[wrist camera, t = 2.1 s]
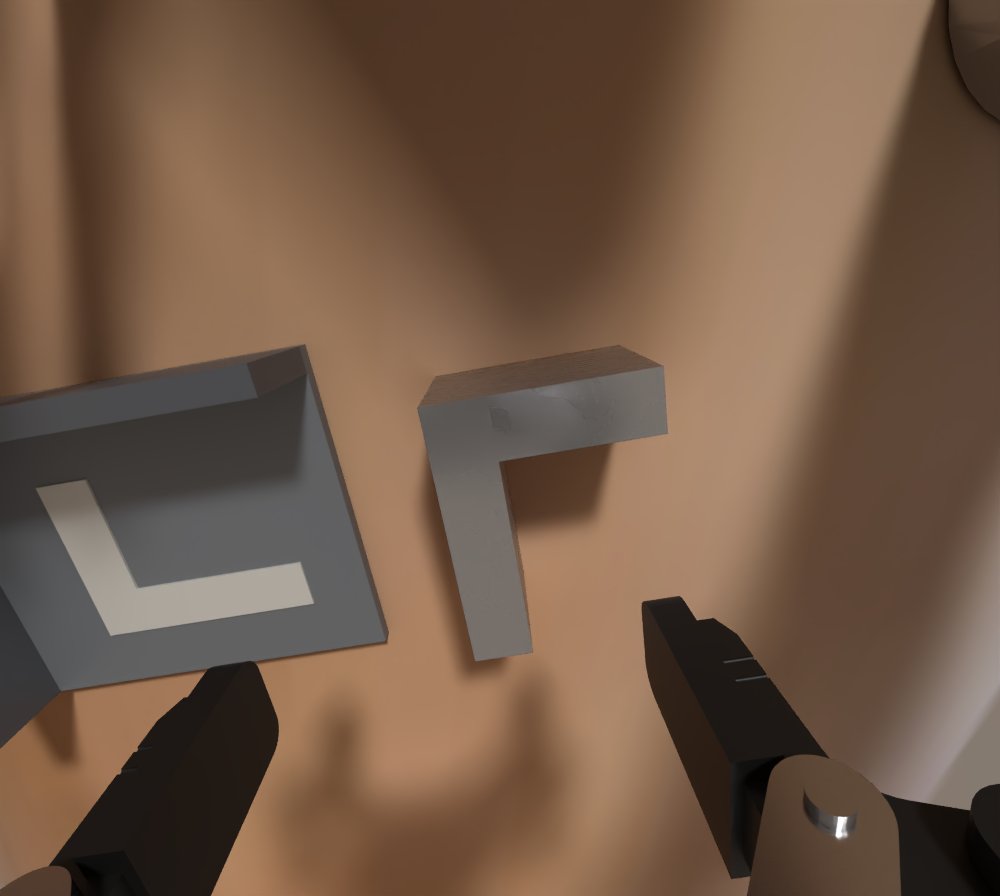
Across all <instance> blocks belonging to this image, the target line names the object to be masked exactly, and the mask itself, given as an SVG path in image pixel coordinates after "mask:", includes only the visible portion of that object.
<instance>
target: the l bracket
mask: <svg viewBox="0 0 1000 896" xmlns="http://www.w3.org/2000/svg"><path fill="white" fill-rule="evenodd" d="M417 409H418V413H419V418H420V422H421V426H422V431H423V435H424V440H425V444H426V448H427V453H428V457H429V461H430V466H431V470H432V475H433V479H434V483H435V488H436V492H437V496H438V501H439V505H440V510H441V514H442V518H443V523H444V527H445V531H446V536H447V540H448V545H449V549H450V553H451V558H452V562H453V566H454V571H455V575H456V580H457V584H458V588H459V593H460V597H461V602H462V606H463V610H464V615H465V619H466V623H467V628H468V632H469V637H470V641H471V645H472V650H473V654H474V658H475V661H481V660H488V659H495V658H501V657H508V656H515V655H521V654H528V653H533V647H532V638H531V630H530V621H529V613H528V604H527V596H526V587H525V579H524V570H523V565H522V559H521V554H520V548H519V542H518V537H517V531H516V525H515V520H514V514H513V508H512V503H511V497H510V491H509V486H508V480H507V474H506V469H505V463H504V461H506V460H512V459H518V458H524V457H530V456H536V455H543V454H549V453H555V452H561V451H567V450H573V449H579V448H585V447H591V446H597V445H603V444H609V443H615V442H621V441H627V440H633V439H639V438H645V437H651V436H657V435H663V434H668V428H667V412H666V396H665V380H664V366H663V365H660V364H658V363H656V362H654V361H652V360H650V359H648V358H646V357H643V356H641V355H639V354H637V353H635V352H633V351H631V350H628V349H626V348H624V347H622V346H620V345H616V346H610V347H605V348H599V349H593V350H587V351H581V352H576V353H570V354H564V355H558V356H552V357H547V358H541V359H535V360H529V361H523V362H518V363H512V364H506V365H500V366H494V367H489V368H483V369H477V370H471V371H465V372H460V373H454V374H448V375H442V376H436V377H435V379H434V380H433V382H432V384H431V386H430V387H429V389H428V391H427V392H426V394H425V396H424V397H423V399H422V401H421V402H420V404H419V406H418V408H417Z"/></svg>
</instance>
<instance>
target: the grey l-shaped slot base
mask: <svg viewBox="0 0 1000 896" xmlns="http://www.w3.org/2000/svg"><path fill="white" fill-rule="evenodd" d="M387 636H388V628H387V625H386V621H385V618H384V614H383V611H382V608H381V604H380V601H379V597H378V594H377V590H376V587H375V584H374V580H373V577H372V573H371V570H370V566H369V563H368V559H367V556H366V553H365V549H364V546H363V542H362V539H361V535H360V532H359V528H358V525H357V522H356V518H355V515H354V511H353V508H352V504H351V501H350V498H349V494H348V491H347V487H346V484H345V480H344V477H343V473H342V470H341V467H340V463H339V460H338V456H337V453H336V449H335V446H334V443H333V439H332V436H331V432H330V429H329V425H328V422H327V418H326V415H325V412H324V408H323V405H322V401H321V398H320V394H319V391H318V388H317V384H316V381H315V377H314V374H313V370H312V367H311V363H310V360H309V357H308V353H307V350H306V346H305V344H304V345H298V346H293V347H287V348H281V349H276V350H270V351H264V352H259V353H253V354H247V355H242V356H236V357H230V358H225V359H219V360H213V361H208V362H202V363H196V364H191V365H185V366H179V367H174V368H168V369H162V370H157V371H151V372H145V373H140V374H134V375H128V376H123V377H117V378H111V379H106V380H100V381H94V382H89V383H83V384H77V385H72V386H66V387H60V388H55V389H49V390H43V391H38V392H32V393H26V394H21V395H15V396H9V397H4V398H0V748H1V747H3V746H4V745H5V744H6V743H7V742H8V741H9V740H10V739H11V738H12V737H13V736H14V735H15V734H16V733H17V732H18V731H19V730H20V729H22V728H23V727H24V726H25V725H26V724H27V723H28V722H29V721H30V720H31V719H32V718H33V717H34V716H35V715H36V714H37V713H38V712H39V711H41V710H42V709H43V708H44V707H45V706H46V705H47V704H48V703H49V702H50V701H51V700H52V699H53V698H54V697H55V696H56V695H57V694H58V693H60V692H61V691H65V690H72V689H78V688H85V687H91V686H98V685H104V684H111V683H117V682H124V681H130V680H137V679H143V678H150V677H156V676H162V675H169V674H175V673H182V672H188V671H195V670H201V669H208V668H211V667H213V666H219V665H225V664H232V663H238V662H245V661H260V660H266V659H273V658H279V657H286V656H292V655H299V654H305V653H312V652H318V651H325V650H331V649H338V648H344V647H351V646H357V645H364V644H370V643H377V642H383V641H386V639H387Z"/></svg>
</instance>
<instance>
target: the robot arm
mask: <svg viewBox="0 0 1000 896" xmlns="http://www.w3.org/2000/svg"><path fill="white" fill-rule="evenodd" d="M949 32H950V37H951V42H952V48H953V53H954V58H955V62H956V64H957V66H958V69H959V71H960V73H961V75H962V78H963V80H964V82H965V85H966V87H967V89H968V90H969V91H970V92H971V94H972V95H973V96H974V97H975V99H976V100H977V101H978V102H979V104H980V105H981V106H982V107H983V109H984V110H985V111H987V112H988V113H990V114H991V115H993V116H994V117H996V118H997V119H998V120H1000V0H949ZM642 621H643V634H644V648H645V661H646V668H647V673H648V678H649V682H650V686H651V689H652V692H653V695H654V697H655V700H656V702H657V704H658V707H659V709H660V711H661V714H662V716H663V718H664V721H665V723H666V726H667V728H668V730H669V733H670V735H671V737H672V740H673V742H674V744H675V747H676V749H677V752H678V754H679V756H680V759H681V761H682V763H683V766H684V768H685V771H686V773H687V775H688V778H689V780H690V782H691V785H692V787H693V789H694V792H695V794H696V797H697V799H698V801H699V804H700V806H701V808H702V811H703V813H704V815H705V818H706V820H707V823H708V825H709V827H710V830H711V832H712V834H713V837H714V839H715V842H716V844H717V846H718V849H719V851H720V853H721V856H722V858H723V860H724V863H725V865H726V868H727V870H728V872H729V875H730V877H731V879H735V878H742V877H748V876H751V877H750V882H749V887H748V892H747V896H1000V784H995V785H989V786H987V787H984V788H982V789H981V790H979V791H978V792H977V793H976V794H975V796H974V798H973V799H972V804H971V809H970V811H969V810H963V809H958V808H952V807H945V806H939V805H933V804H927V803H921V802H915V801H909V800H904V799H900V798H896V797H892V796H889V795H886V794H883V793H881V792H880V791H879V790H878V789H877V788H876V787H875V786H874V785H873V784H872V783H871V782H869V781H868V780H867V779H866V778H865V777H864V776H862V775H861V774H859V773H858V772H856V771H855V770H853V769H851V768H850V767H848V766H846V765H844V764H842V763H840V762H837V761H835V760H832V759H830V758H829V757H828V756H827V755H826V754H825V752H824V751H823V750H822V749H821V747H820V746H819V744H818V743H817V742H816V740H815V739H814V738H813V736H812V735H811V734H810V732H809V731H808V730H807V728H806V727H805V726H804V724H803V723H802V721H801V720H800V719H799V717H798V716H797V715H796V713H795V712H794V711H793V709H792V708H791V707H790V705H789V704H788V702H787V701H786V700H785V698H784V697H783V696H782V694H781V693H780V692H779V690H778V689H777V688H776V686H775V685H774V683H773V682H772V681H771V679H770V678H767V676H766V673H765V671H764V670H763V669H762V667H761V666H760V665H759V663H758V662H757V660H754V658H753V655H752V654H751V652H750V651H749V650H748V648H747V647H746V646H745V644H744V643H743V641H742V640H741V639H740V637H739V636H738V635H737V634H736V633H735V632H733V631H732V630H730V629H729V628H727V627H726V626H724V625H723V624H721V623H720V622H718V621H717V620H716V619H714V618H711V619H705V620H698V621H697V620H696V618H695V617H694V615H693V614H692V612H691V611H690V609H689V608H688V606H687V605H686V603H685V601H684V600H683V599H682V598H681V597H680V596H676V597H669V598H663V599H656V600H650V601H643V603H642ZM278 735H279V725H278V718H277V715H276V713H275V710H274V707H273V705H272V702H271V699H270V697H269V694H268V692H267V689H266V686H265V684H264V681H263V679H262V676H261V673H260V671H259V668H258V666H257V665H256V664H255V663H254V662H253V661H245V662H238V663H232V664H225V665H219V666H213V667H211V668H210V669H208V670H207V671H206V673H205V674H204V675H203V677H202V678H201V679H200V681H199V682H198V684H197V685H196V686H195V688H194V689H193V691H192V692H191V693H190V695H189V696H188V697H185V698H183V699H182V700H181V701H179V702H178V703H177V704H176V705H175V706H174V707H173V708H171V709H170V710H169V711H168V712H167V713H166V714H165V715H164V716H162V717H161V718H160V719H159V720H158V721H157V722H156V723H155V725H154V726H153V727H152V729H151V730H150V731H149V733H148V734H147V735H146V737H145V738H144V739H143V741H142V742H141V743H140V745H139V746H138V751H137V752H134V753H133V754H132V755H131V757H130V758H129V759H128V761H127V762H126V763H125V765H124V766H123V767H122V769H121V770H122V771H121V774H119V775H116V777H115V778H114V779H113V781H112V782H111V783H110V785H109V786H108V787H107V789H106V790H105V791H104V793H103V794H102V795H101V797H100V798H99V799H98V801H97V802H96V803H95V805H94V806H93V807H92V809H91V810H90V812H89V813H88V814H87V816H86V817H85V818H84V820H83V821H82V822H81V824H80V825H79V826H78V828H77V829H76V830H75V832H74V833H73V834H72V836H71V837H70V838H69V840H68V841H67V842H66V844H65V845H64V846H63V848H62V849H61V850H60V852H59V853H58V854H57V856H56V857H55V858H54V860H53V861H52V862H51V864H50V865H49V866H48V867H43V868H40V869H37V870H34V871H32V872H29V873H27V874H25V875H23V876H21V877H19V878H18V879H16V880H14V881H12V882H11V883H9V884H8V885H6V886H5V887H3V888H2V889H0V896H211V894H212V892H213V890H214V887H215V885H216V883H217V881H218V878H219V876H220V874H221V872H222V869H223V867H224V865H225V863H226V860H227V858H228V856H229V854H230V851H231V849H232V847H233V845H234V842H235V840H236V838H237V836H238V833H239V831H240V829H241V827H242V824H243V822H244V820H245V818H246V815H247V813H248V811H249V809H250V806H251V804H252V802H253V800H254V797H255V795H256V793H257V791H258V789H259V786H260V784H261V782H262V780H263V777H264V775H265V773H266V771H267V768H268V766H269V764H270V762H271V759H272V757H273V755H274V752H275V750H276V746H277V742H278Z"/></svg>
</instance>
